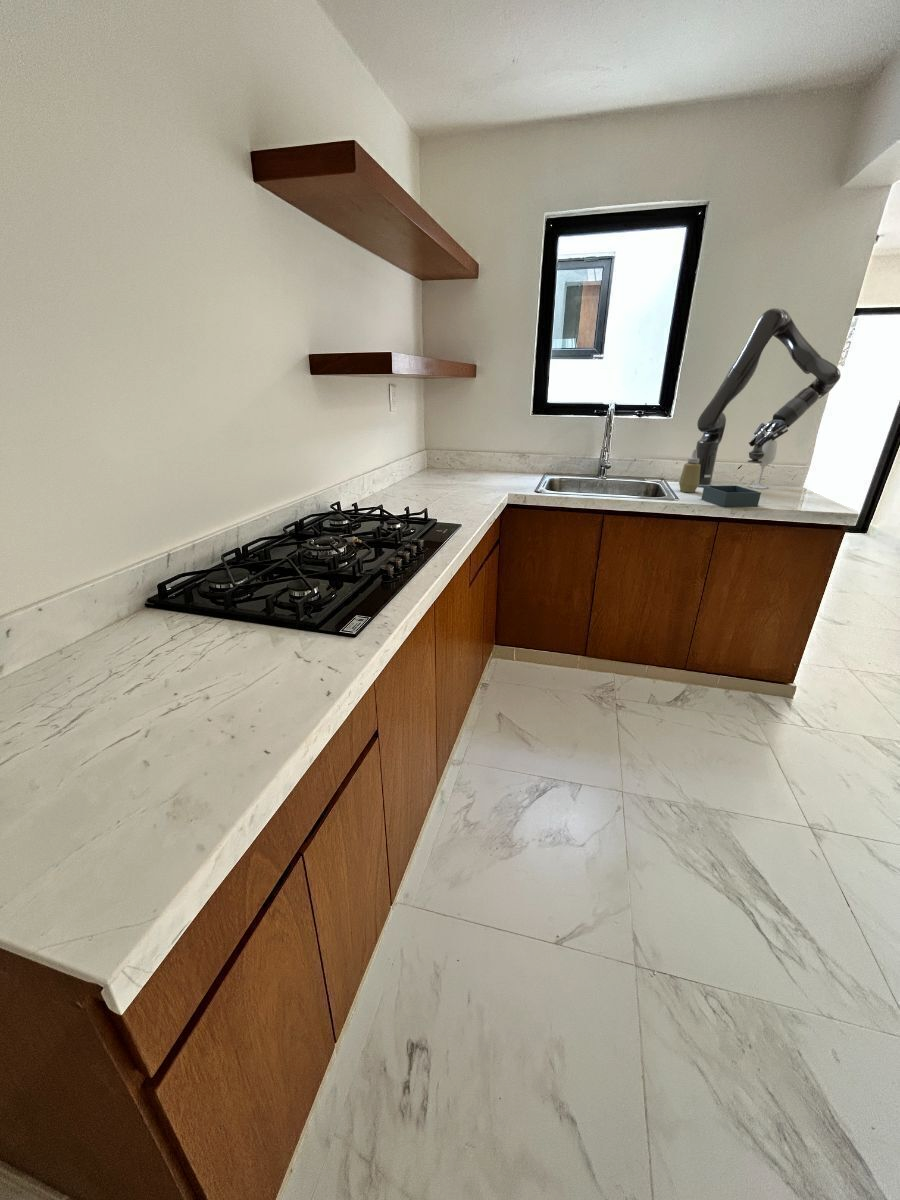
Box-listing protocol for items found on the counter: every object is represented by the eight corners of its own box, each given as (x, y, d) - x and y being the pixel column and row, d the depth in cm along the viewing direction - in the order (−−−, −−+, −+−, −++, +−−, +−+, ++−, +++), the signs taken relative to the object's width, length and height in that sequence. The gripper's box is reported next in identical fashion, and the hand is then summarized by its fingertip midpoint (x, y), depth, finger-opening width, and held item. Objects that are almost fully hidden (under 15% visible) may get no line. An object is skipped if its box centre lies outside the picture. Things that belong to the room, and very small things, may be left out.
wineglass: (767, 486, 235) (779, 440, 227) (767, 489, 229) (779, 441, 221) (749, 485, 239) (760, 439, 231) (748, 487, 233) (759, 440, 225)
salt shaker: (758, 461, 203) (766, 430, 198) (765, 463, 197) (773, 431, 193) (743, 461, 203) (750, 430, 199) (750, 463, 198) (757, 431, 193)
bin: (701, 499, 207) (704, 485, 205) (733, 498, 209) (736, 485, 207) (723, 507, 193) (726, 492, 191) (757, 506, 195) (761, 492, 193)
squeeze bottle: (677, 492, 221) (685, 450, 214) (677, 489, 228) (684, 448, 221) (697, 493, 218) (706, 451, 211) (696, 490, 225) (705, 449, 218)
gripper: (772, 404, 199) (737, 436, 203) (799, 406, 186) (761, 440, 190) (781, 418, 202) (746, 450, 205) (808, 421, 189) (770, 454, 192)
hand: (754, 445), depth 198 cm, fingers closed on salt shaker, 3 cm apart
